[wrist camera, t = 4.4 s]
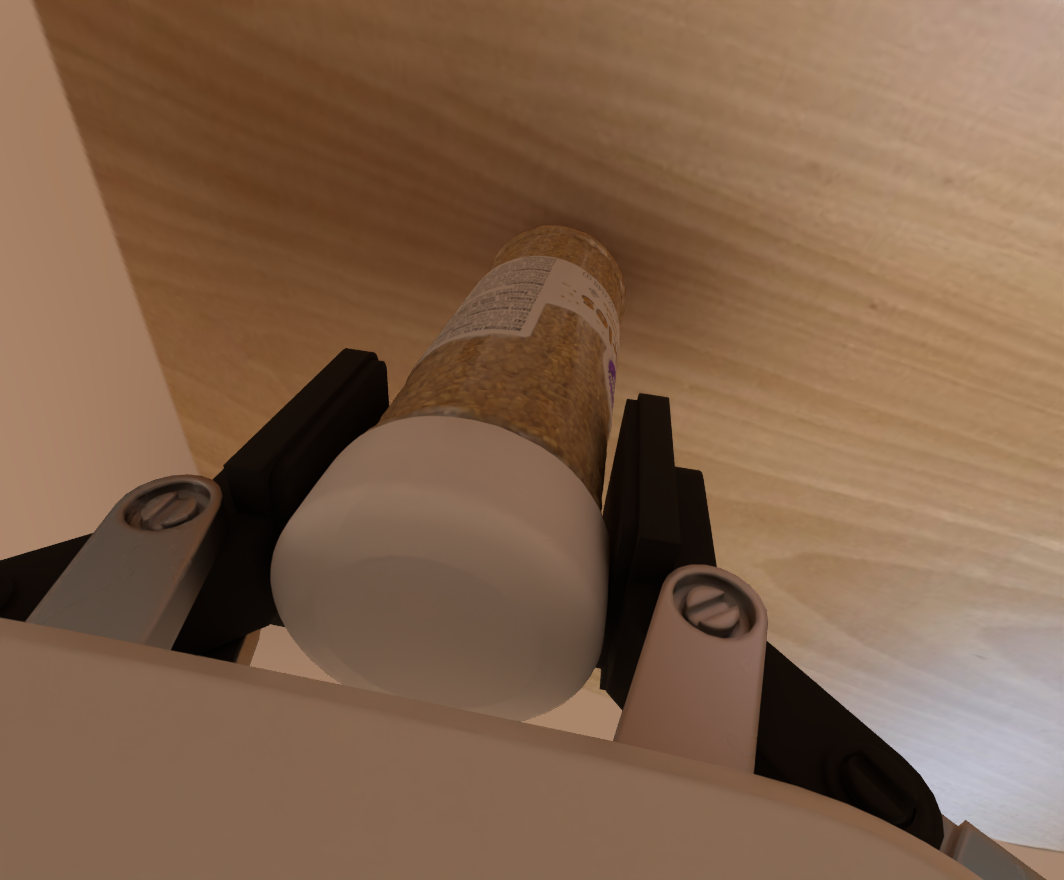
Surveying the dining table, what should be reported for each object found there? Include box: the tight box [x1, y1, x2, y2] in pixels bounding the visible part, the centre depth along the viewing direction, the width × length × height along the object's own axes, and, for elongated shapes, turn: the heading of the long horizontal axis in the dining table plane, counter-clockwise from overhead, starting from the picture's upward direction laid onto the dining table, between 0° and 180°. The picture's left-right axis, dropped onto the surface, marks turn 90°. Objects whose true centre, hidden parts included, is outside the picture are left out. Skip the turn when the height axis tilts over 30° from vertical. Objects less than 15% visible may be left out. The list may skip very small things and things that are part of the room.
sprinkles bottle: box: [270, 225, 626, 722], centre depth 13 cm, size 5×5×13 cm
